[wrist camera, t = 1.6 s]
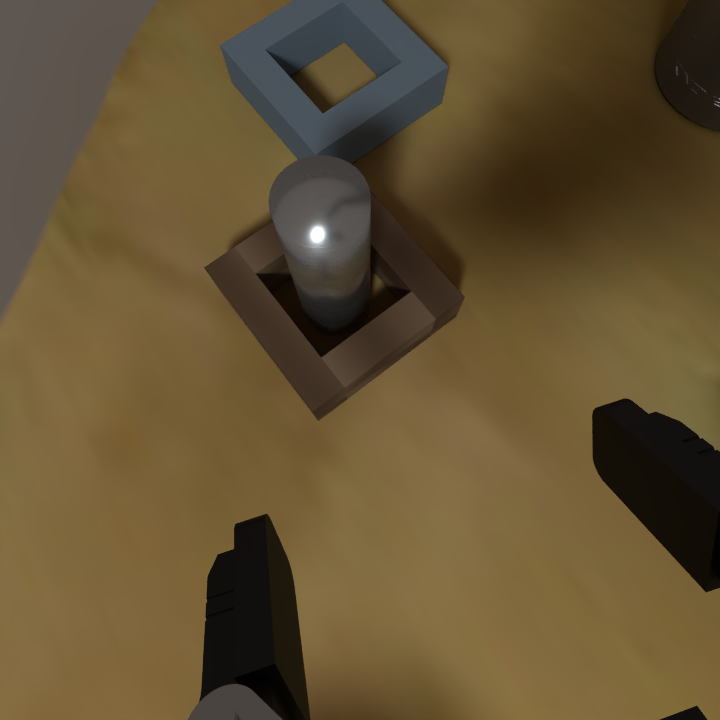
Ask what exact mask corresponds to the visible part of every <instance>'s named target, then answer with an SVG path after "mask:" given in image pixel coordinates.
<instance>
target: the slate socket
mask: <svg viewBox="0 0 720 720" xmlns="http://www.w3.org/2000/svg"><path fill="white" fill-rule="evenodd" d="M343 42H345V43H346V44H347V45H348V46H349V47H350V48H351V49H352V50H353V51H354V52H355V53H356V54H357V55H358V56H359V57H360V58H361V59H362V60H363V61H364V62H365V63H366V65H367V66H368V67H369V68H370V69H371V70H372V71H373V72H374V73H375V74H376V75H377V76H378V78H377V79H375V80H374V81H372V82H371V83H369V84H367V85H366V86H364V87H363V88H361V89H360V90H358V91H357V92H355V93H354V94H352V95H351V96H349V97H347V98H346V99H344V100H343V101H341V102H340V103H338V104H337V105H335V106H334V107H332V108H331V109H329V110H327V111H326V112H324V113H322V112H321V111H320V110H319V109H318V108H317V106H316V105H315V104H314V103H313V102H312V101H311V100H310V99H309V98H308V97H307V95H306V94H305V93H304V92H303V91H302V90H301V89H300V88H299V87H298V85H297V84H296V83H295V82H294V81H293V80H292V79H291V78H290V77H289V76H291V75H292V74H294V73H296V72H297V71H299V70H300V69H302V68H304V67H305V66H307V65H308V64H310V63H312V62H313V61H315V60H316V59H318V58H319V57H321V56H323V55H324V54H326V53H327V52H329V51H331V50H332V49H334V48H335V47H337V46H339V45H340V44H342V43H343ZM220 47H221V50H222V53H223V56H224V59H225V62H226V65H227V69H228V72H229V75H230V78H231V81H232V83H233V84H234V85H235V87H236V88H237V89H238V90H239V91H240V92H241V94H242V95H243V96H244V97H245V98H246V99H247V101H248V102H249V103H250V104H251V105H252V106H253V107H254V109H255V110H256V111H257V112H258V113H259V114H260V116H261V117H262V118H263V119H264V120H265V121H266V123H267V124H268V125H269V126H270V127H271V128H272V129H273V131H274V132H275V133H276V134H277V135H278V136H279V138H280V139H281V140H282V141H283V142H284V143H285V145H286V146H287V147H288V148H289V149H290V150H291V152H292V153H293V154H294V155H295V156H296V157H297V158H298V160H300V159H303V158H306V157H310V156H318V155H324V156H332V157H336V158H340V159H342V160H345V161H347V162H348V163H350V164H352V163H353V162H355V161H356V160H358V159H359V158H361V157H362V156H364V155H365V154H367V153H368V152H370V151H371V150H373V149H374V148H376V147H377V146H378V145H380V144H381V143H383V142H384V141H386V140H387V139H389V138H390V137H392V136H393V135H395V134H396V133H398V132H399V131H401V130H402V129H404V128H405V127H407V126H408V125H410V124H411V123H413V122H414V121H416V120H417V119H418V118H420V117H421V116H423V115H424V114H426V113H427V112H429V111H430V110H432V109H433V108H435V107H436V106H438V105H439V104H441V103H442V99H443V94H444V88H445V83H446V77H447V72H448V65H447V64H446V63H445V62H444V61H443V60H442V59H441V58H440V57H439V56H438V55H437V54H435V53H434V52H433V51H432V50H431V49H430V48H429V47H428V46H427V45H426V44H425V43H424V42H423V41H422V40H421V39H420V38H419V37H418V36H417V35H416V34H415V33H414V32H413V31H412V30H411V29H410V28H409V27H408V26H407V25H406V24H405V23H404V22H403V21H402V20H401V19H400V18H399V17H398V16H397V15H396V14H395V13H394V12H393V11H392V10H391V9H390V8H389V7H388V6H387V5H386V4H385V3H384V2H383V1H382V0H294V1H292V2H291V3H289V4H287V5H286V6H284V7H282V8H281V9H279V10H277V11H276V12H274V13H272V14H271V15H269V16H268V17H266V18H264V19H263V20H261V21H259V22H258V23H256V24H254V25H253V26H251V27H249V28H248V29H246V30H244V31H243V32H241V33H239V34H238V35H236V36H234V37H233V38H231V39H229V40H228V41H226V42H224V43H223V44H221V45H220Z"/></svg>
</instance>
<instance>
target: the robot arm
mask: <svg viewBox="0 0 720 720" xmlns="http://www.w3.org/2000/svg"><path fill="white" fill-rule="evenodd" d="M655 69H656V77H657V80H658V83H659V86H660V89H661V90H662V92H663V94H664V95H665V97H666V98H667V100H668V101H669V102H670V103H671V104H672V105H673V106H674V107H675V108H676V109H677V110H678V111H679V112H680V113H682V114H683V115H684V116H686V117H687V118H688V119H690V120H692V121H694V122H696V123H698V124H700V125H702V126H704V127H708V128H711V129H714V130H717V131H720V0H689V1H688V3H687V5H686V6H685V8H684V9H683V11H682V12H681V14H680V16H679V17H678V19H677V20H676V22H675V23H674V25H673V27H672V28H671V30H670V31H669V33H668V35H667V36H666V38H665V39H664V41H663V42H662V44H661V46H660V48H659V50H658V52H657V57H656V62H655ZM592 433H593V461H594V465H595V467H596V470H597V472H598V474H599V475H600V477H601V479H602V480H603V481H604V482H605V483H606V485H607V486H608V487H609V488H610V489H611V490H612V491H613V492H614V493H615V494H616V495H617V496H618V498H619V499H620V500H621V501H622V502H623V503H624V504H625V505H626V506H627V507H628V508H629V509H630V511H631V512H632V513H633V514H634V515H635V516H636V517H637V518H638V519H639V520H640V521H641V522H642V524H643V525H644V526H645V527H646V528H647V529H648V530H649V531H650V532H651V533H652V534H653V535H654V537H655V538H656V539H657V540H658V541H659V542H660V543H661V544H662V545H663V546H664V547H665V548H666V550H667V551H668V552H669V553H670V554H671V555H672V556H673V557H674V558H675V559H676V560H677V561H678V562H679V564H680V565H681V566H682V567H683V568H684V569H685V570H686V571H687V572H688V573H689V574H690V575H691V577H692V578H693V579H694V580H695V581H696V582H697V583H698V584H699V585H700V586H701V587H702V588H703V590H704V591H705V592H709V591H712V590H714V589H717V588H720V451H718V450H714V447H713V446H712V445H710V444H709V443H708V442H706V441H705V440H704V439H703V438H701V439H700V438H699V436H698V435H697V434H696V433H695V432H693V431H692V430H691V429H689V428H688V427H687V426H685V425H684V424H683V423H682V422H680V421H678V420H675V419H673V418H670V417H668V416H665V415H663V414H660V413H658V412H654V413H650V414H648V413H647V412H645V411H644V410H643V409H642V408H640V407H639V406H638V405H637V404H635V403H634V402H633V401H631V400H629V399H621V400H618V401H615V402H612V403H609V404H606V405H603V406H600V407H597V408H595V409H594V411H593V415H592ZM188 720H310V713H309V704H308V696H307V688H306V679H305V671H304V662H303V654H302V645H301V637H300V629H299V620H298V612H297V603H296V595H295V586H294V580H293V575H292V571H291V567H290V564H289V561H288V558H287V555H286V553H285V551H284V549H283V546H282V544H281V542H280V539H279V537H278V535H277V533H276V530H275V528H274V526H273V524H272V521H271V519H270V517H269V516H268V514H264V515H261V516H258V517H255V518H252V519H249V520H246V521H243V522H240V523H237V524H235V527H234V549H233V550H230V551H227V552H224V553H221V554H218V555H217V557H216V560H215V562H214V564H213V566H212V568H211V570H210V573H209V575H208V580H207V603H206V621H205V635H204V653H203V672H202V689H201V697H200V701H199V703H198V705H197V706H196V707H195V708H194V710H193V711H192V713H191V715H190V716H189V718H188ZM660 720H707V719H706V717H705V716H704V715H703V713H702V712H701V710H700V709H699V708H698V706H695V707H692V708H690V709H687V710H684V711H682V712H679V713H676V714H674V715H671V716H668V717H666V718H663V719H660Z"/></svg>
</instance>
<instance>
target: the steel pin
mask: <svg viewBox="0 0 720 720" xmlns="http://www.w3.org/2000/svg"><path fill="white" fill-rule="evenodd" d="M269 209H270V213H271V216H272V219H273V222H274V225H275V228H276V231H277V234H278V237H279V240H280V243H281V246H282V249H283V252H284V255H285V258H286V261H287V264H288V267H289V270H290V273H291V276H292V279H293V282H294V285H295V288H296V291H297V294H298V297H299V300H300V303H301V306H302V309H303V312H304V315H305V317H306V319H307V321H308V322H309V323H310V324H311V325H312V326H313V327H314V328H315V329H317V330H318V331H320V332H322V333H325V334H329V335H342V334H346V333H349V332H351V331H353V330H355V329H357V328H358V327H359V326H360V325H361V324H362V323H363V322H364V320H365V319H366V317H367V315H368V312H369V308H370V238H371V195H370V190H369V186H368V184H367V181H366V179H365V178H364V176H363V175H362V174H361V172H360V171H359V170H358V169H357V168H356V167H354V166H353V165H352V164H350V163H348V162H347V161H345V160H342V159H340V158H336V157H332V156H324V155H318V156H310V157H306V158H303V159H300V160H298V161H295V162H294V163H292V164H290V165H289V166H287V167H286V168H285V169H284V170H283V171H282V172H281V173H280V174H279V175H278V176H277V178H276V179H275V181H274V183H273V185H272V187H271V190H270V194H269Z"/></svg>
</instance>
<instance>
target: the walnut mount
mask: <svg viewBox="0 0 720 720" xmlns="http://www.w3.org/2000/svg"><path fill="white" fill-rule="evenodd" d="M370 195H371V238H370V268H371V269H372V270H373V271H374V272H375V273H376V275H377V276H378V277H379V278H380V279H381V280H382V282H383V283H384V284H385V285H386V286H387V287H388V289H389V290H390V291H391V292H392V293H393V295H394V296H395V297H396V298H397V299H398V300H399V301H398V302H396V303H395V304H394V305H392V306H391V307H390V308H388V309H387V310H385V311H384V312H383V313H381V314H380V315H379V316H377V317H376V318H375V319H373V320H372V321H371V322H369V323H368V324H366V325H365V326H364V327H362V328H361V329H360V330H358V331H357V332H356V333H354V334H353V335H352V336H350V337H349V338H347V339H346V340H345V341H343V342H342V343H341V344H339V345H338V346H337V347H335V348H334V349H332V350H331V351H330V352H328V353H327V354H326V355H324V356H323V357H322V358H321V357H320V356H319V354H318V353H317V352H316V350H315V349H314V348H313V347H312V345H311V344H310V343H309V341H308V340H307V339H306V338H305V336H304V335H303V334H302V332H301V331H300V330H299V329H298V327H297V326H296V325H295V324H294V322H293V321H292V320H291V318H290V317H289V316H288V315H287V313H286V312H285V311H284V309H283V308H282V307H281V306H280V304H279V303H278V302H277V301H276V299H275V298H274V297H273V295H272V294H271V293H270V291H272V290H273V289H275V288H276V287H278V286H279V285H280V284H282V283H283V282H285V281H286V280H288V279H289V278H290V277H292V276H291V273H290V270H289V267H288V264H287V261H286V258H285V255H284V252H283V249H282V246H281V243H280V240H279V237H278V234H277V231H276V228H275V225H274V222H273V221H272V222H271V223H269V224H268V225H266V226H265V227H264V228H262V229H261V230H259V231H258V232H256V233H255V234H253V235H252V236H250V237H249V238H247V239H246V240H244V241H243V242H241V243H240V244H238V245H237V246H235V247H234V248H232V249H231V250H229V251H228V252H227V253H225V254H224V255H222V256H221V257H219V258H218V259H216V260H215V261H213V262H212V263H210V264H209V265H207V266H206V267H204V268H205V270H206V271H207V272H208V274H209V275H210V277H211V278H212V280H213V281H214V283H215V284H216V285H217V287H218V288H219V290H220V291H221V292H222V294H223V295H224V296H225V298H226V299H227V300H228V302H229V303H230V304H231V306H232V307H233V308H234V310H235V311H236V312H237V314H238V315H239V316H240V318H241V319H242V320H243V322H244V323H245V324H246V326H247V327H248V328H249V330H250V331H251V332H252V334H253V335H254V336H255V338H256V339H257V340H258V342H259V343H260V344H261V345H262V347H263V348H264V349H265V351H266V352H267V353H268V355H269V356H270V357H271V359H272V360H273V361H274V363H275V364H276V365H277V367H278V368H279V369H280V371H281V372H282V373H283V375H284V376H285V377H286V379H287V380H288V381H289V383H290V384H291V385H292V387H293V388H294V389H295V391H296V392H297V393H298V395H299V396H300V397H301V398H302V400H303V401H304V402H305V404H306V405H307V406H308V408H309V409H310V410H311V412H312V413H313V414H314V416H315V417H316V418H317V420H318V421H319V420H320V419H322V418H323V417H324V416H326V415H327V414H328V413H329V412H331V411H332V410H333V409H335V408H336V407H337V406H339V405H340V404H341V403H343V402H344V401H345V400H347V399H348V398H349V397H351V396H352V395H353V394H355V393H356V392H357V391H359V390H360V389H361V388H362V387H364V386H365V385H366V384H368V383H369V382H370V381H372V380H373V379H374V378H376V377H377V376H378V375H380V374H381V373H382V372H384V371H385V370H386V369H388V368H389V367H390V366H392V365H393V364H394V363H395V362H397V361H398V360H399V359H401V358H402V357H403V356H405V355H406V354H407V353H409V352H410V351H411V350H413V349H414V348H415V347H417V346H418V345H419V344H421V343H422V342H423V341H424V340H426V339H427V338H428V337H430V336H431V335H432V334H434V333H435V332H436V331H438V330H439V329H440V328H442V327H443V326H444V325H446V324H447V323H448V322H450V321H451V320H452V319H454V318H455V317H456V315H457V313H458V311H459V309H460V307H461V304H462V302H463V300H464V298H465V297H464V296H463V295H462V294H461V292H460V291H459V290H458V289H457V288H456V287H455V286H454V285H453V283H452V282H451V281H450V280H449V279H448V278H447V277H446V276H445V274H444V273H443V272H442V271H441V270H440V269H439V268H438V267H437V265H436V264H435V263H434V262H433V261H432V260H431V259H430V258H429V256H428V255H427V254H426V253H425V252H424V251H423V250H422V249H421V247H420V246H419V245H418V244H417V243H416V242H415V241H414V240H413V238H412V237H411V236H410V235H409V234H408V233H407V232H406V231H405V229H404V228H403V227H402V226H401V225H400V224H399V223H398V222H397V220H396V219H395V218H394V217H393V216H392V215H391V214H390V213H389V211H388V210H387V209H386V208H385V207H384V206H383V205H382V204H381V202H380V201H379V200H378V199H377V198H376V197H375V196H374V195H373V193H372V192H371V191H370Z"/></svg>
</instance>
